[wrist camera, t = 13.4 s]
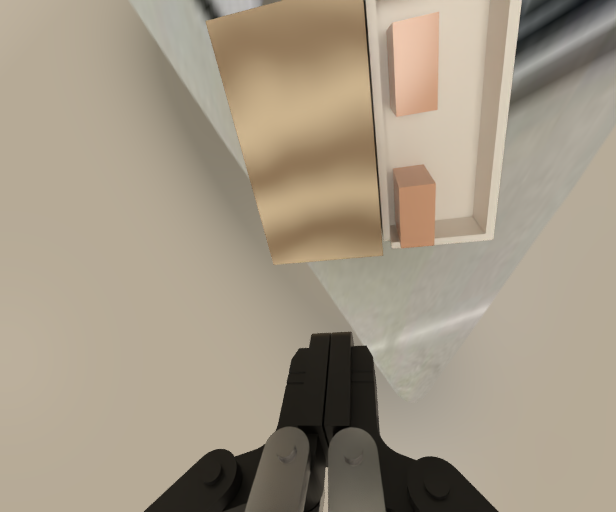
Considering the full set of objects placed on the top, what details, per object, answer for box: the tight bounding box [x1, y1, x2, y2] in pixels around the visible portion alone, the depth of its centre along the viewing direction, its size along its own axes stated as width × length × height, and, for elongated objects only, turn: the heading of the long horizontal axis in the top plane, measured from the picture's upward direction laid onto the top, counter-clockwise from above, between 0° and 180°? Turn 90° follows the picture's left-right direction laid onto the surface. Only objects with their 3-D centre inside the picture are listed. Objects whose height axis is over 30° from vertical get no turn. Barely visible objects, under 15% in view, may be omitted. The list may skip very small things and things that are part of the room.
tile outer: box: [393, 164, 436, 248], centre depth 26 cm, size 5×5×2 cm
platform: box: [206, 0, 383, 265], centre depth 25 cm, size 18×10×5 cm, turn 10°
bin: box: [365, 0, 522, 249], centre depth 24 cm, size 18×8×4 cm, turn 10°
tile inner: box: [386, 12, 439, 117], centre depth 21 cm, size 5×5×2 cm
